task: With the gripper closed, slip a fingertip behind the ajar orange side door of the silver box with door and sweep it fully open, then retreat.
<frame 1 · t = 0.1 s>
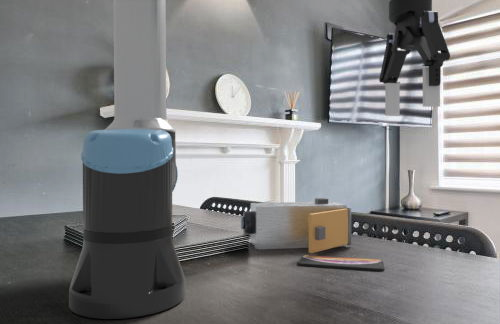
hand: (410, 111, 75), 28 cm above the table, fingers open, 13 cm apart
smartphone: (340, 266, 73), on the table
headphones: (291, 232, 107), on the table
silver box with door: (297, 244, 90), on the table
side door: (332, 229, 82), point 4 cm above the table, hinge at 35.0°
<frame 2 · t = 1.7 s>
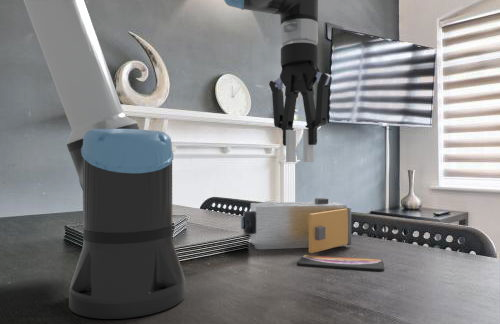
hand: (299, 161, 81), 19 cm above the table, fingers open, 3 cm apart
nothing on the table moved.
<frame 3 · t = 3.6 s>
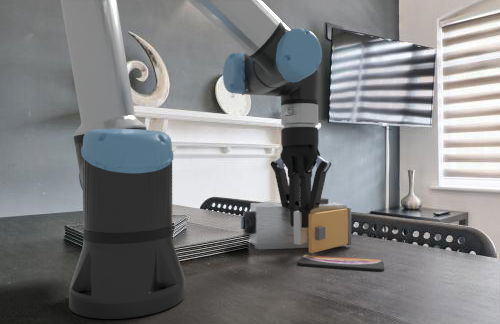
hand: (300, 243, 81), 2 cm above the table, fingers closed
side door: (332, 229, 82), point 4 cm above the table, hinge at 35.0°, touching gripper
everything else where it was.
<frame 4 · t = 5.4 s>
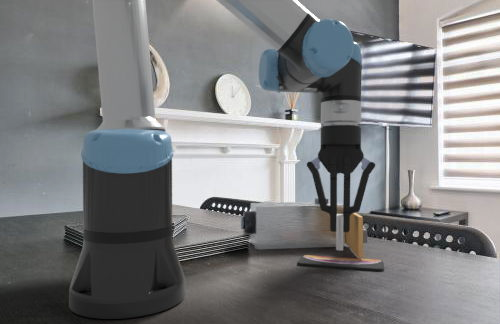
hand: (339, 248, 77), 2 cm above the table, fingers closed
side door: (355, 231, 81), point 4 cm above the table, hinge at 78.5°, touching gripper
everything else where it was.
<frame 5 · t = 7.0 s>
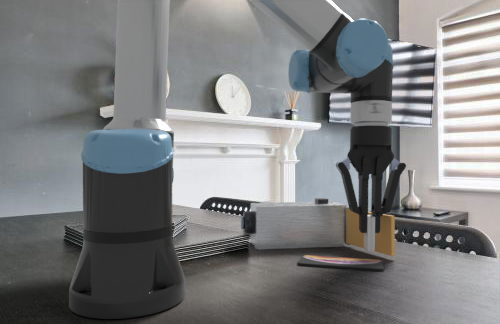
hand: (369, 249, 76), 2 cm above the table, fingers closed
side door: (369, 230, 82), point 4 cm above the table, hinge at 107.6°, touching gripper
everything else where it was.
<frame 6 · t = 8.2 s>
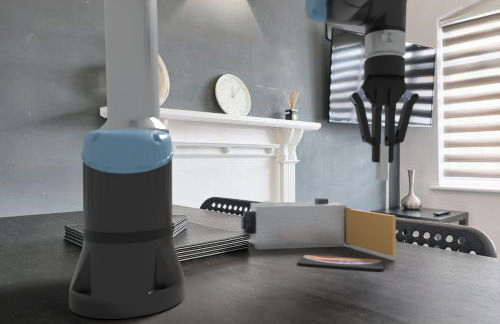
hand: (381, 179, 78), 15 cm above the table, fingers closed
side door: (370, 230, 82), point 4 cm above the table, hinge at 108.9°
everything else where it was.
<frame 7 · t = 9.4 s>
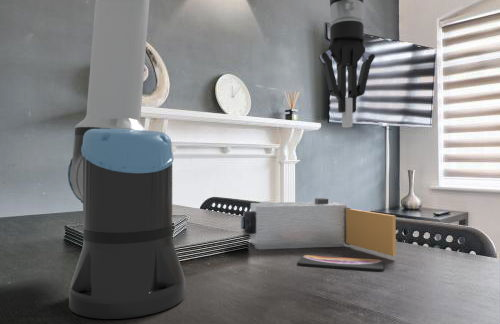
hand: (347, 126, 93), 27 cm above the table, fingers closed
nothing on the table moved.
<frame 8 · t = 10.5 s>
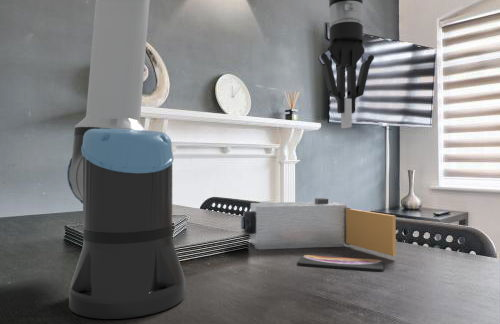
hand: (346, 127, 93), 26 cm above the table, fingers closed
nothing on the table moved.
at the end: side door at +109° (first picture: +35°) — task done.
